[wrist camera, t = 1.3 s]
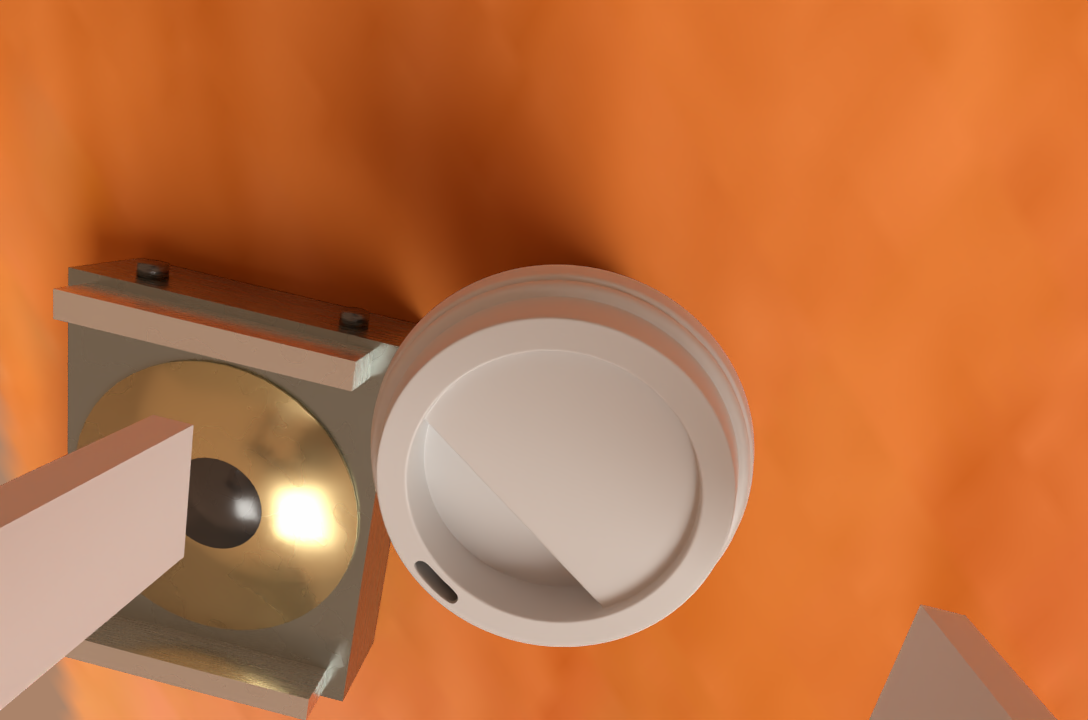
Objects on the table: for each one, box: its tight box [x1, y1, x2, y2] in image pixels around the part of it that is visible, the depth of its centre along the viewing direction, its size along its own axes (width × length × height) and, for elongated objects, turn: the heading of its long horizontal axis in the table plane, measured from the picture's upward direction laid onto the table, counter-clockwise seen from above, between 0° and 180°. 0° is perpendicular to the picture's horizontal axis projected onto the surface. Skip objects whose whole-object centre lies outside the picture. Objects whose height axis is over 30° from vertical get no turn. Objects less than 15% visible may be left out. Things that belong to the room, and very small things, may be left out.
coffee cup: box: [371, 265, 754, 647], centre depth 21 cm, size 10×10×15 cm
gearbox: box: [53, 258, 417, 720], centre depth 28 cm, size 19×14×6 cm
